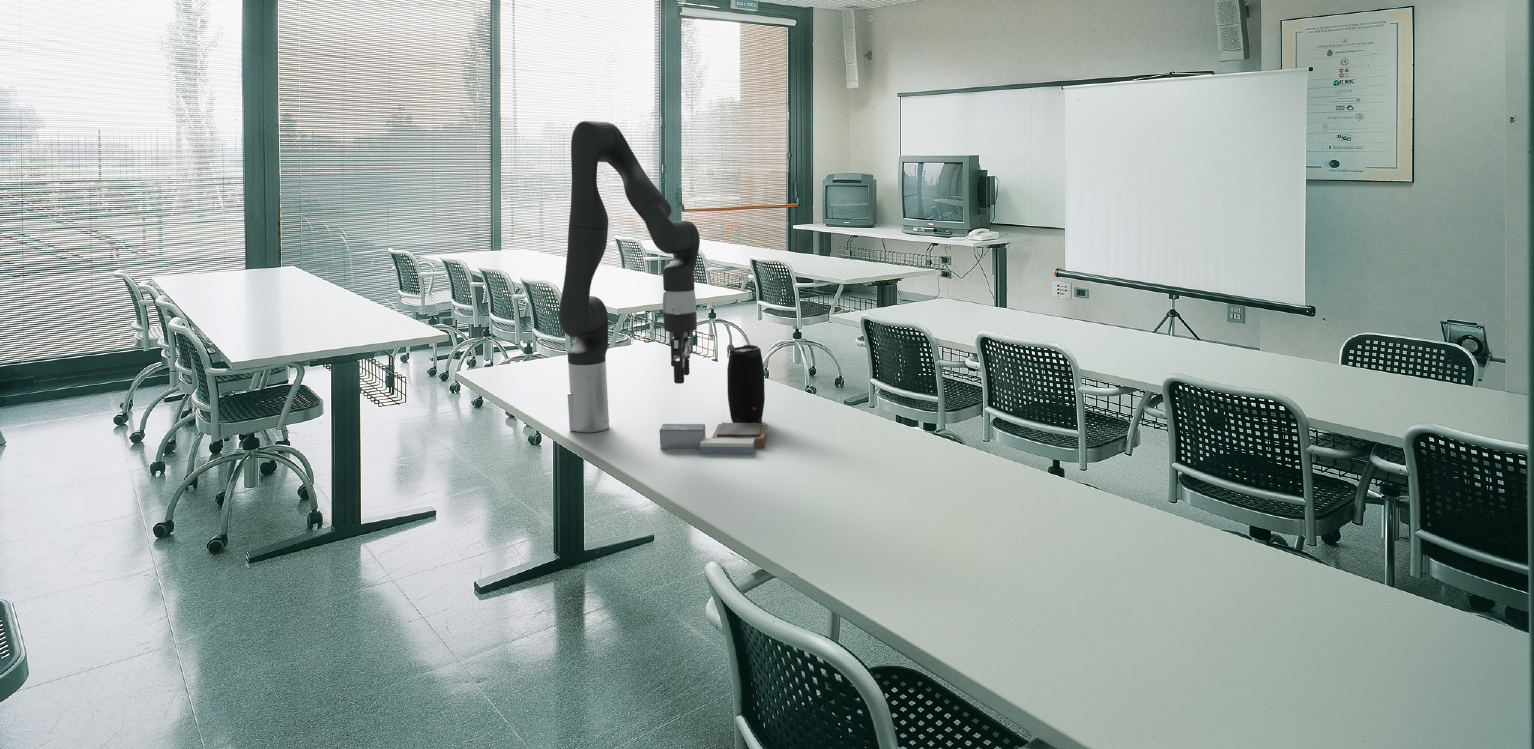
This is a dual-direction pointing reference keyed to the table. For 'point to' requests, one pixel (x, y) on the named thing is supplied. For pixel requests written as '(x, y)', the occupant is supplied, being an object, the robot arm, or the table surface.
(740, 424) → the stand
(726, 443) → the eraser
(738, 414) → the portable speaker
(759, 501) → the table surface
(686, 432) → the block
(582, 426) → the robot arm
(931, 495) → the table surface
